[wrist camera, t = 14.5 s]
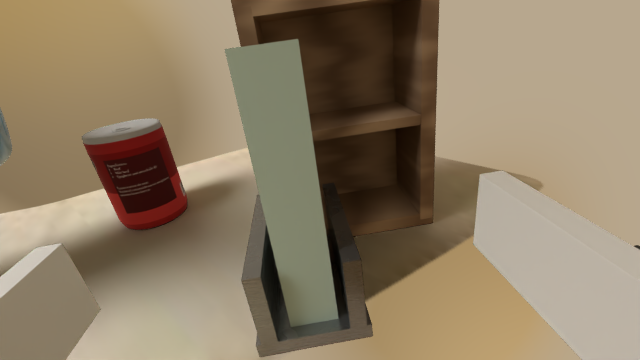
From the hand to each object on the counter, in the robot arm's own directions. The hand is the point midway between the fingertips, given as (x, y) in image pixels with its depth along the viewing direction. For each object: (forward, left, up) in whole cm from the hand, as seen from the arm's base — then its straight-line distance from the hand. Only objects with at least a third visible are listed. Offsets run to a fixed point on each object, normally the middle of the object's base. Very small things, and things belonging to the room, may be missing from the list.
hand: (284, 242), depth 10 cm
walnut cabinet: (+5, +19, -11) cm, 22 cm away
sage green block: (0, +9, -10) cm, 14 cm away
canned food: (-18, +27, -11) cm, 34 cm away
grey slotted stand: (0, +10, -11) cm, 15 cm away
